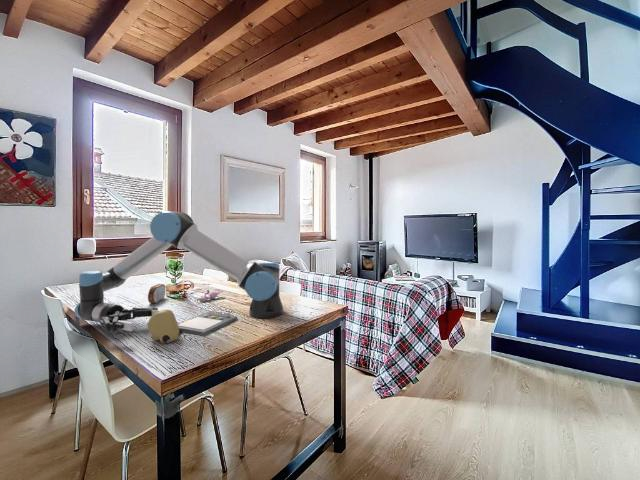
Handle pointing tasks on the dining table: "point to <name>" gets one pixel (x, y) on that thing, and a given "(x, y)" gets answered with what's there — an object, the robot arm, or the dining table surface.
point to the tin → (156, 293)
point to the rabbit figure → (210, 296)
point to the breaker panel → (206, 322)
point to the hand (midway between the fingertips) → (149, 320)
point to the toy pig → (164, 326)
